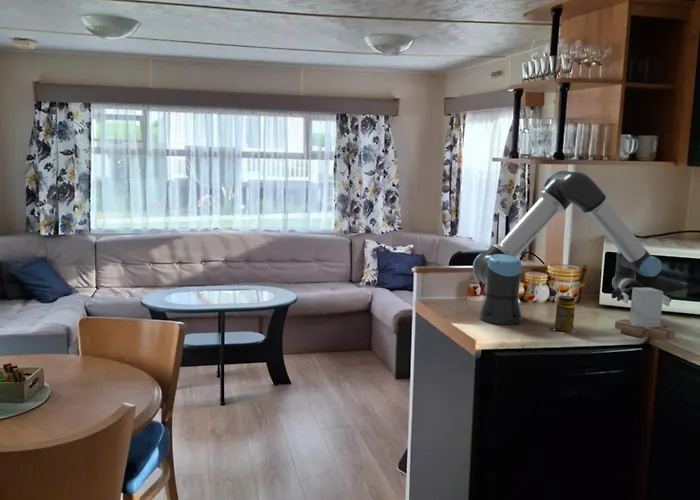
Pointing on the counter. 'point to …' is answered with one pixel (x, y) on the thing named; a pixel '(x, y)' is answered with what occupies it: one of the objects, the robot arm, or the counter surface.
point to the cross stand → (644, 330)
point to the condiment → (564, 315)
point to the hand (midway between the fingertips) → (647, 301)
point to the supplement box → (646, 307)
